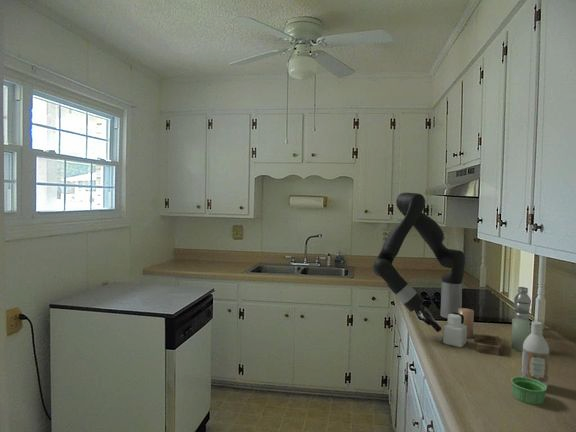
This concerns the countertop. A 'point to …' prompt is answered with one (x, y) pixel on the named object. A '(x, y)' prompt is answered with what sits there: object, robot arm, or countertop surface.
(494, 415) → the countertop surface
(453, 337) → the medicine bottle
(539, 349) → the bath foam
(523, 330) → the sage canister
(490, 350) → the corral
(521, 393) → the ramekin
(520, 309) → the plastic bottle
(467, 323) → the terracotta canister
